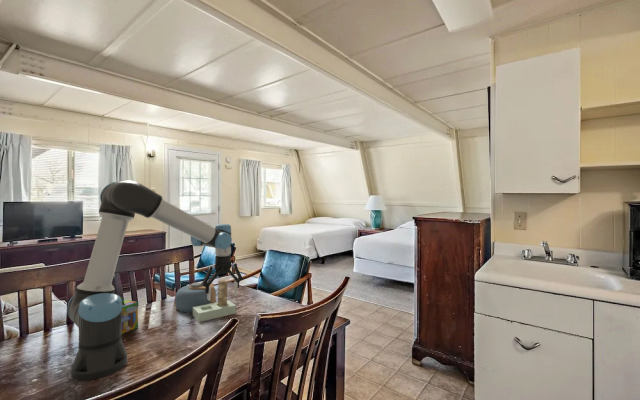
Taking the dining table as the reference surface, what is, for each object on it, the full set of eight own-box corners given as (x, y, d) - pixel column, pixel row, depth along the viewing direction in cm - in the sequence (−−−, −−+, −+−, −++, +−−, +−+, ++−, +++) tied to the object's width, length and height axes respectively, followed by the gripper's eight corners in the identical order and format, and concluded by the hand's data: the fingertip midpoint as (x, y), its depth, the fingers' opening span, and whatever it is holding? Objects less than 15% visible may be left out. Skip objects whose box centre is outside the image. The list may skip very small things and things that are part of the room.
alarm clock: (220, 308, 156) (220, 285, 156) (178, 316, 144) (179, 291, 144) (211, 298, 172) (211, 277, 172) (172, 304, 160) (173, 282, 160)
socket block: (198, 322, 138) (198, 313, 138) (192, 315, 146) (192, 307, 146) (235, 313, 149) (236, 305, 149) (228, 307, 157) (228, 299, 157)
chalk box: (138, 328, 131) (138, 294, 131) (116, 336, 122) (116, 300, 122) (126, 324, 135) (126, 291, 135) (103, 332, 127) (104, 297, 127)
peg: (220, 314, 147) (220, 282, 147) (217, 312, 150) (218, 280, 150) (226, 312, 149) (227, 280, 149) (224, 310, 152) (225, 279, 152)
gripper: (199, 259, 139) (199, 304, 139) (249, 253, 154) (249, 294, 154) (195, 256, 145) (194, 299, 145) (243, 251, 160) (243, 290, 160)
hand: (222, 297), depth 150 cm, fingers open, 13 cm apart
